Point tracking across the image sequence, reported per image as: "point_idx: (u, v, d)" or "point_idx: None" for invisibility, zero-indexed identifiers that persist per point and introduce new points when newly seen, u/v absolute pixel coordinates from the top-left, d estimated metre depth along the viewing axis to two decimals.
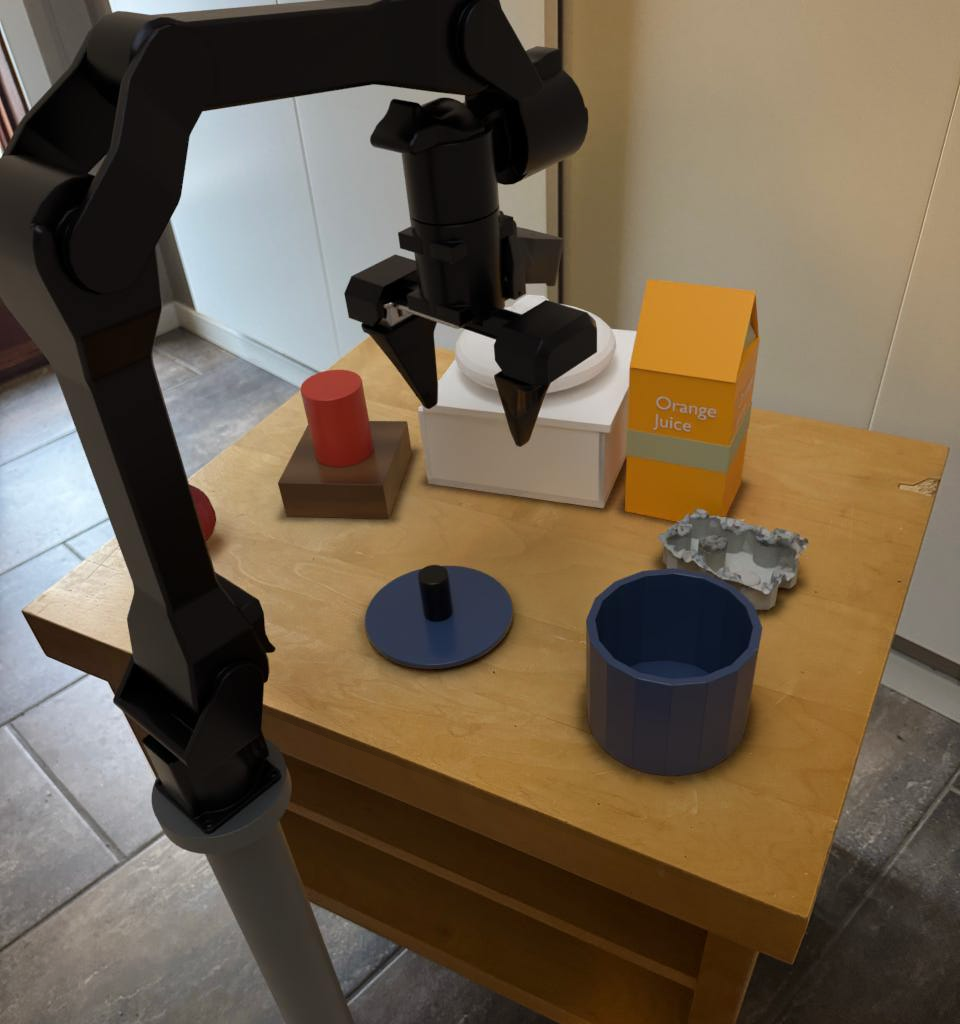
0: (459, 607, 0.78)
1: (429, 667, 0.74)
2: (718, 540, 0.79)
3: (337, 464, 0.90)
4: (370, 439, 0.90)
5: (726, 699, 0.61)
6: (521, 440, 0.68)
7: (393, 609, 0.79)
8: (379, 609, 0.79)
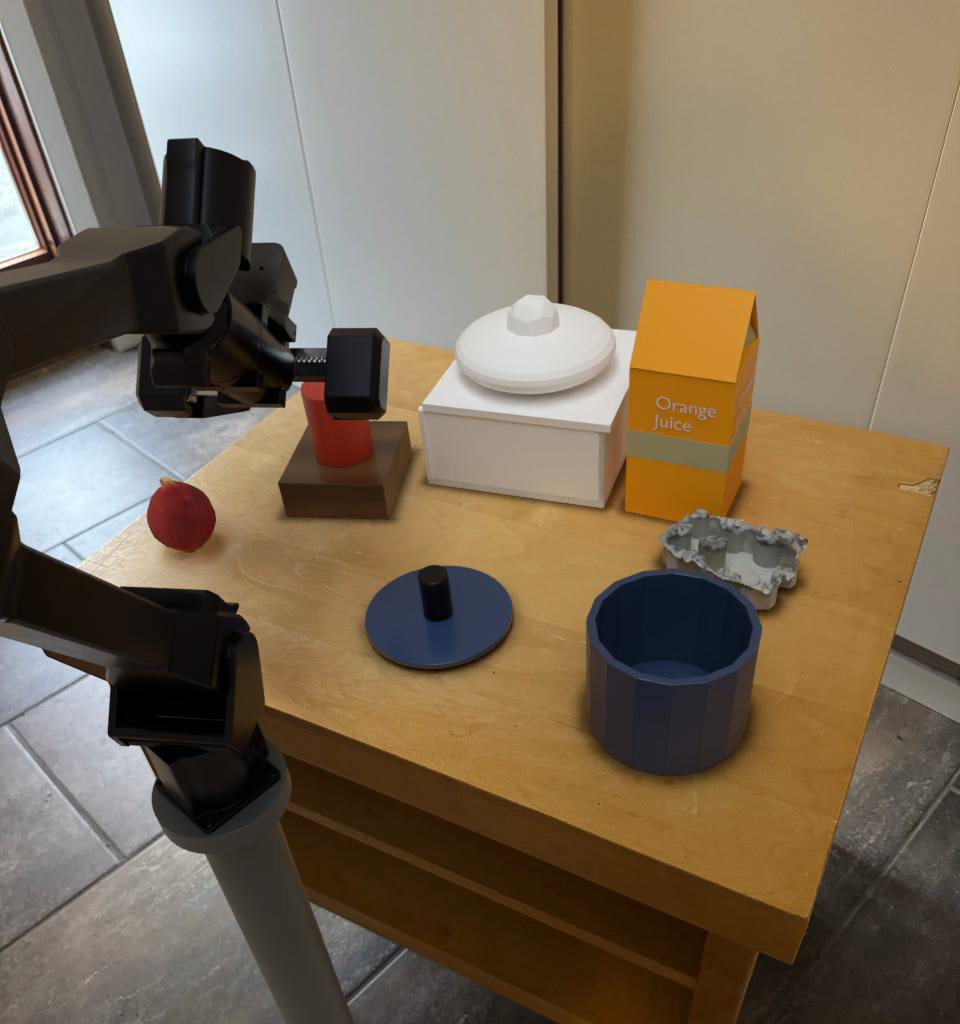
0: (459, 607, 0.78)
1: (429, 667, 0.74)
2: (718, 540, 0.79)
3: (337, 464, 0.90)
4: (370, 439, 0.90)
5: (726, 699, 0.61)
6: None
7: (393, 609, 0.79)
8: (379, 609, 0.79)
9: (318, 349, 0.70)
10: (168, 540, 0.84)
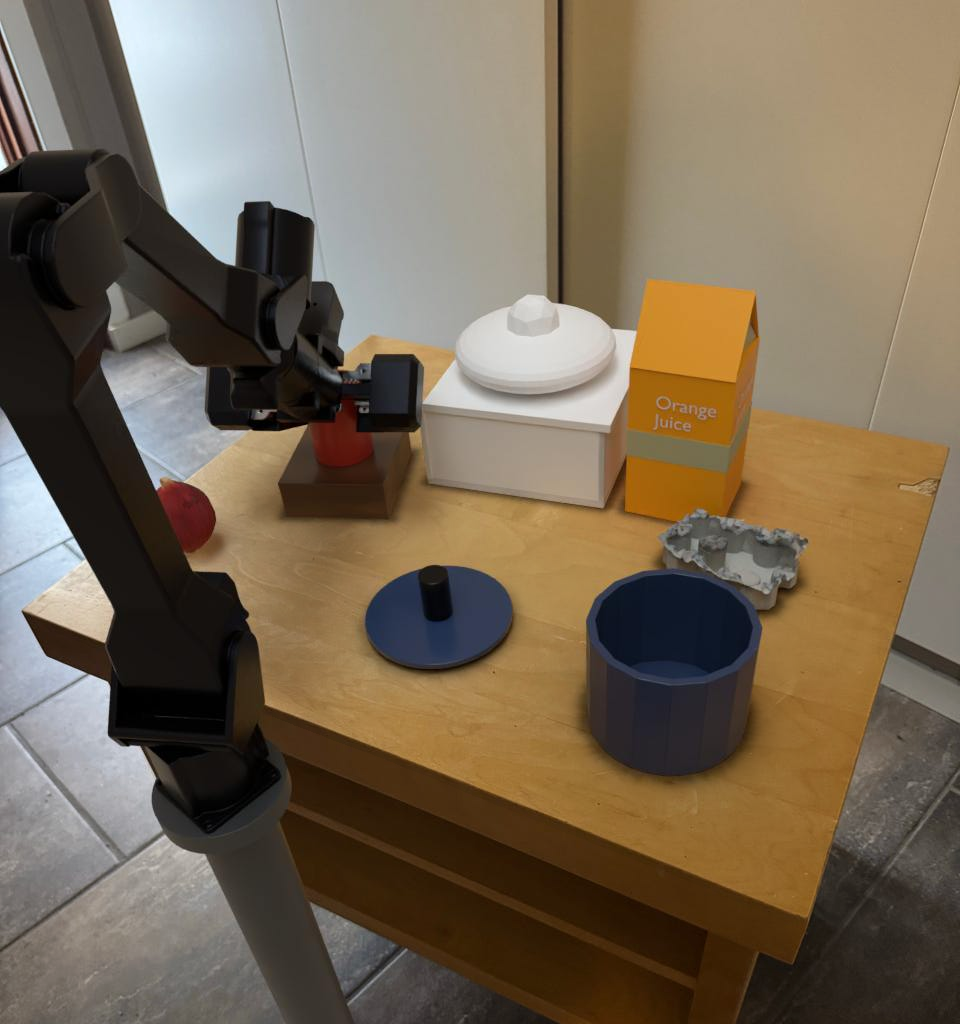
0: (459, 607, 0.78)
1: (429, 667, 0.74)
2: (718, 540, 0.79)
3: (337, 464, 0.90)
4: (370, 439, 0.90)
5: (726, 699, 0.61)
6: None
7: (393, 609, 0.79)
8: (379, 609, 0.79)
9: (343, 372, 0.82)
10: None
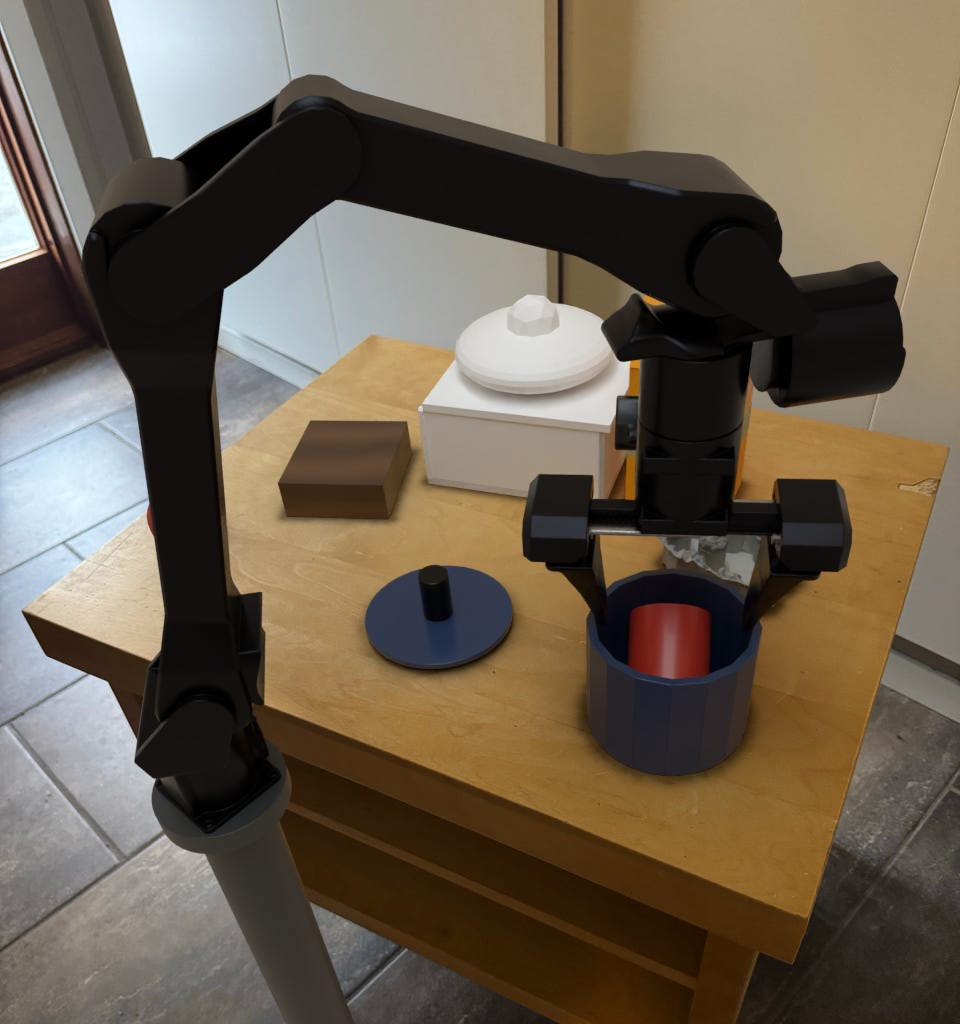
0: (459, 607, 0.78)
1: (429, 667, 0.74)
2: (718, 540, 0.79)
3: None
4: None
5: (726, 699, 0.61)
6: None
7: (393, 609, 0.79)
8: (379, 609, 0.79)
9: (756, 500, 0.58)
10: None
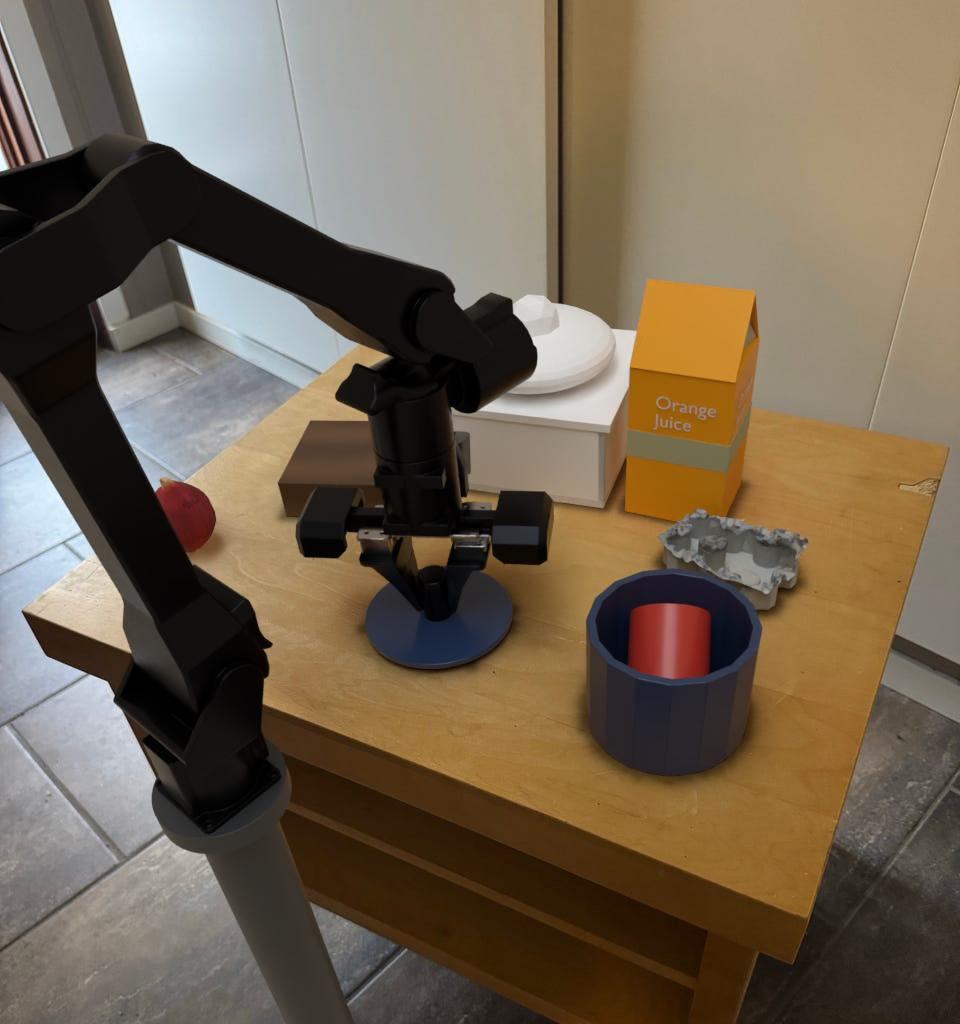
0: (459, 607, 0.78)
1: (429, 667, 0.74)
2: (718, 540, 0.79)
3: None
4: None
5: (726, 699, 0.61)
6: None
7: (393, 609, 0.79)
8: (379, 609, 0.79)
9: None
10: None
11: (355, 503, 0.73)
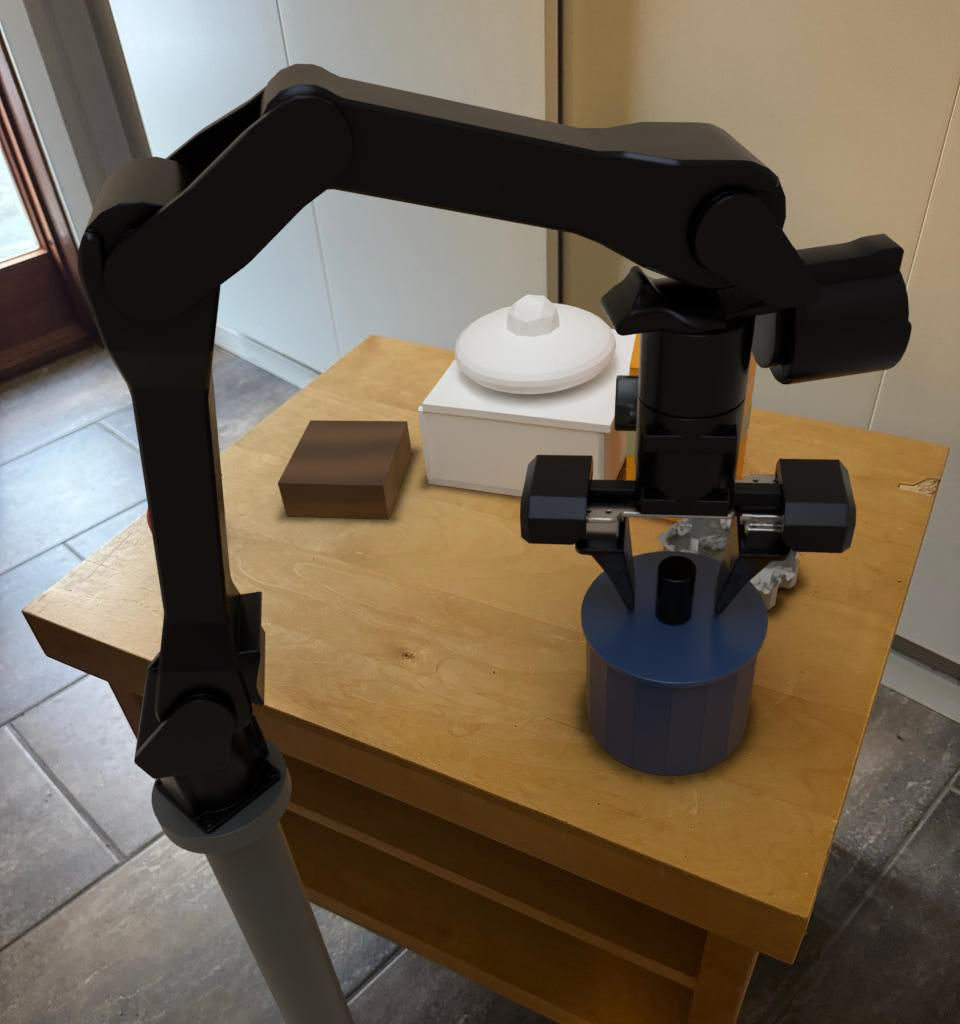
0: (698, 606, 0.63)
1: (677, 686, 0.59)
2: (718, 540, 0.79)
3: None
4: None
5: (726, 699, 0.61)
6: None
7: (615, 609, 0.64)
8: (597, 609, 0.64)
9: None
10: None
11: (590, 475, 0.57)
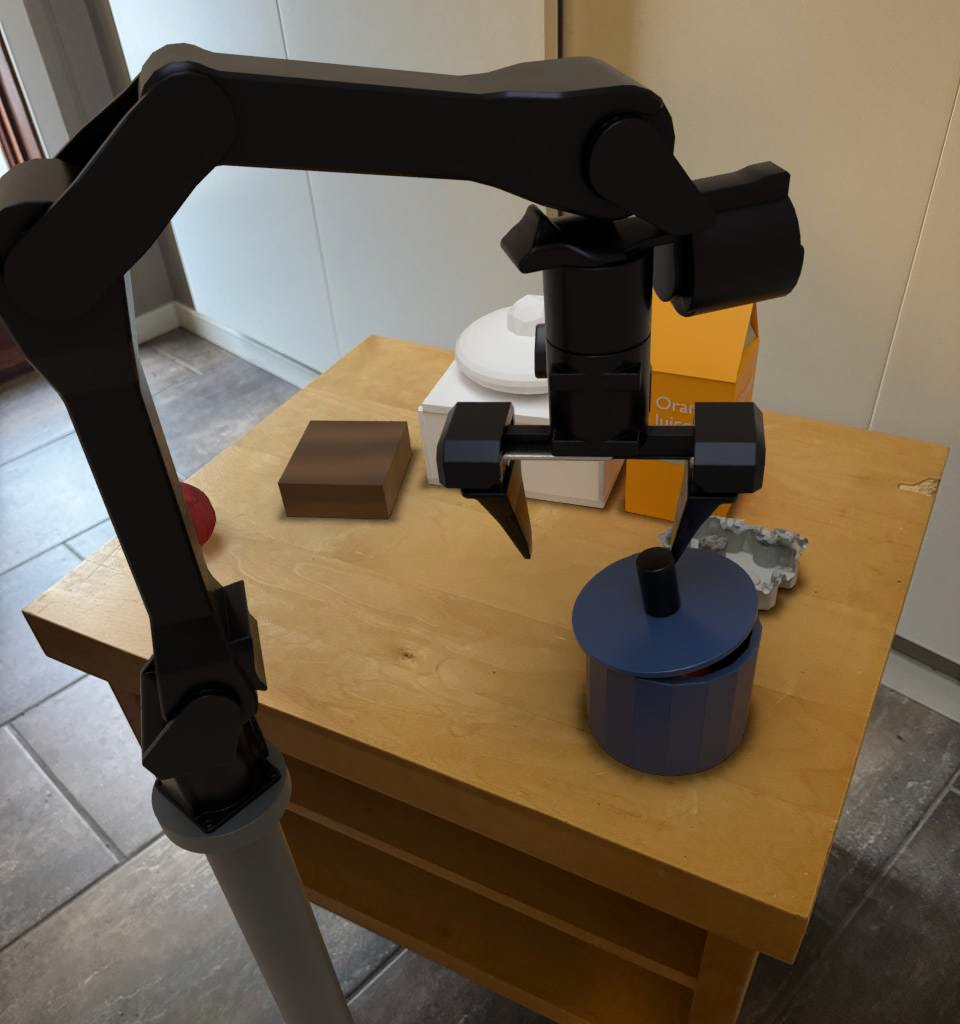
0: (687, 595, 0.63)
1: (671, 674, 0.59)
2: (718, 540, 0.79)
3: None
4: None
5: (726, 699, 0.61)
6: None
7: (605, 611, 0.64)
8: (587, 613, 0.64)
9: (676, 425, 0.57)
10: None
11: (508, 421, 0.58)
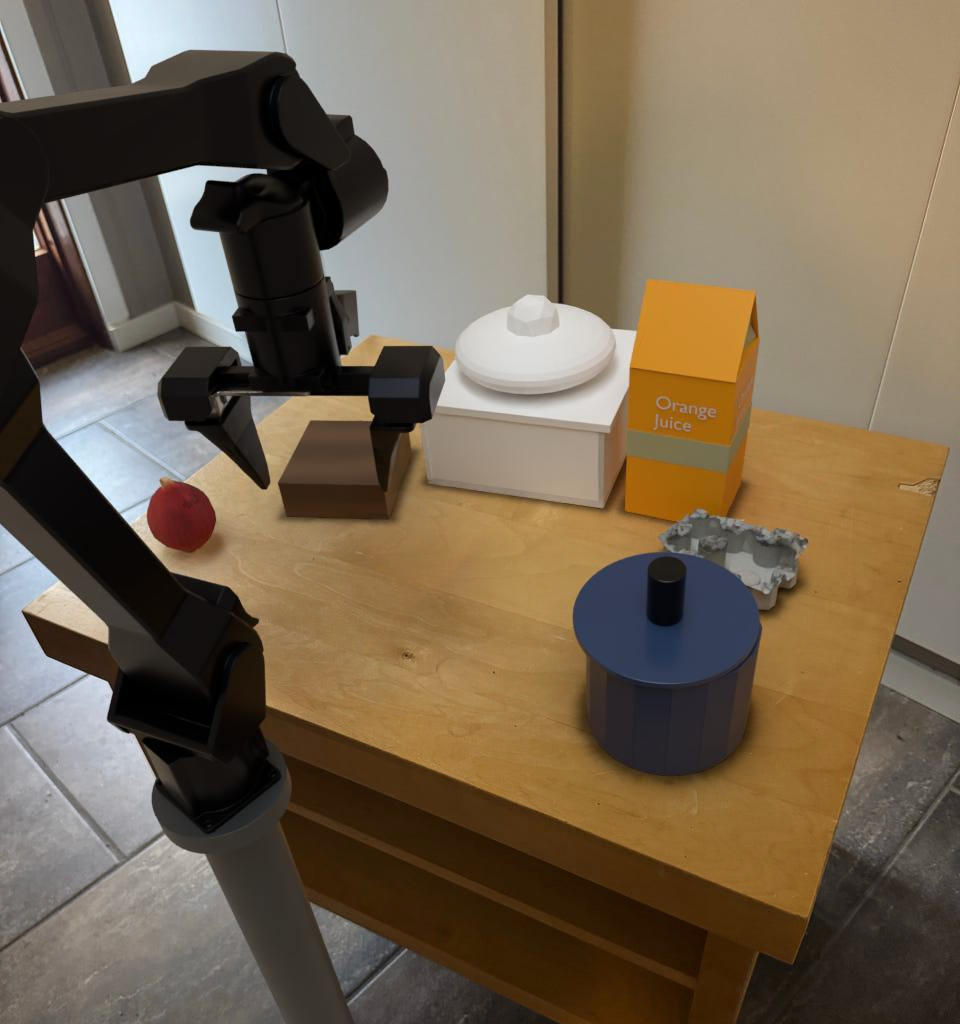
0: (689, 606, 0.63)
1: (670, 687, 0.59)
2: (718, 540, 0.79)
3: None
4: None
5: (726, 699, 0.61)
6: (388, 485, 0.69)
7: (607, 611, 0.64)
8: (588, 612, 0.64)
9: None
10: (168, 540, 0.84)
11: (226, 362, 0.66)
